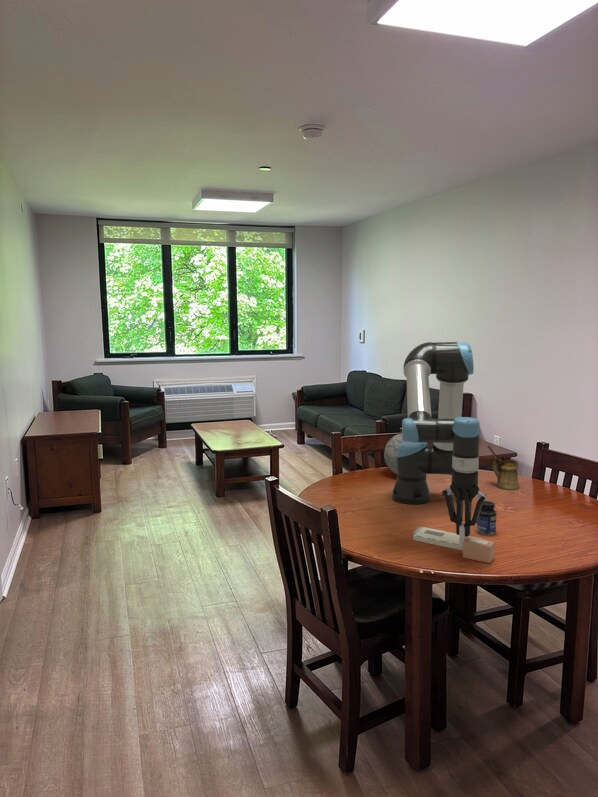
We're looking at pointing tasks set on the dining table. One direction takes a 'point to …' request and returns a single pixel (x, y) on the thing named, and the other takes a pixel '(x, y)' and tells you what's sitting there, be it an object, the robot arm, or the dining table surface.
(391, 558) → the dining table surface
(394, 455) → the decorative sphere
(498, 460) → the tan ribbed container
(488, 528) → the pill bottle
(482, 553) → the stub
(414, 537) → the white grooved bar
